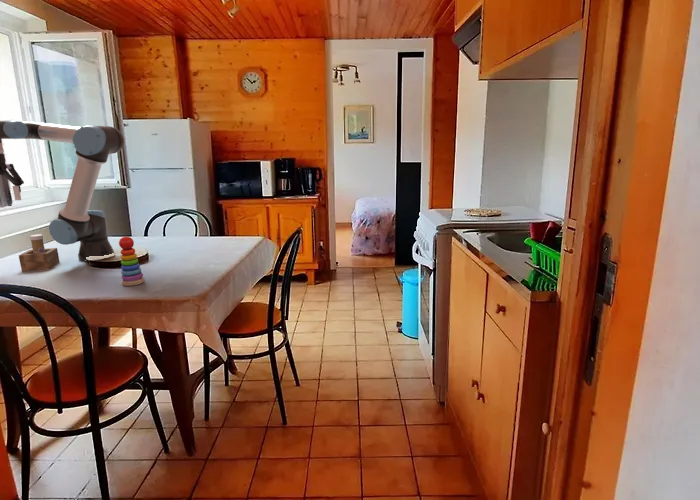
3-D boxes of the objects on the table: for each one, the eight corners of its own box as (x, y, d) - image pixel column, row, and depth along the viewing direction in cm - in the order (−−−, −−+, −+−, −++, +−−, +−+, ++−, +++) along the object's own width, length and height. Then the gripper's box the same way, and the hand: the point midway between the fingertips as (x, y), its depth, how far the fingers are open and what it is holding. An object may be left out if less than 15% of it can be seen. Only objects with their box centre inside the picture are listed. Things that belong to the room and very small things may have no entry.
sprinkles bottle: (40, 266, 195) (34, 236, 191) (32, 265, 196) (27, 235, 193) (50, 263, 199) (44, 234, 196) (42, 262, 200) (37, 233, 197)
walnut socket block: (59, 262, 204) (57, 247, 202) (50, 268, 193) (47, 253, 192) (32, 264, 201) (29, 249, 199) (21, 271, 191) (18, 255, 189)
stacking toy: (126, 280, 175) (120, 234, 170) (147, 279, 176) (141, 233, 171) (118, 287, 167) (111, 239, 163) (140, 286, 168) (133, 238, 163)
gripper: (14, 152, 202) (24, 198, 207) (-46, 154, 179) (-34, 206, 184) (27, 152, 200) (36, 198, 205) (-32, 154, 177) (-21, 206, 182)
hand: (3, 202), depth 195 cm, fingers open, 13 cm apart
